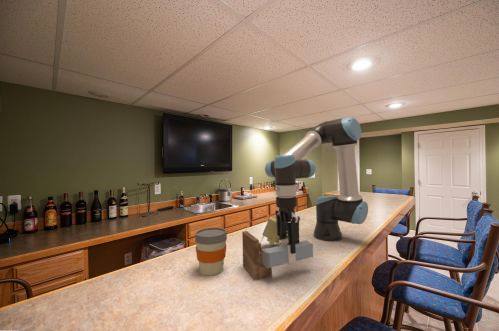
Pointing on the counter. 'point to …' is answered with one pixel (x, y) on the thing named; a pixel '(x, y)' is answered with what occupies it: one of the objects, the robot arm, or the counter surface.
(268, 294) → the counter surface
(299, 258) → the rail
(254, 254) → the wooden bracket with knobs
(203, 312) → the counter surface
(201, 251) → the reusable coffee cup
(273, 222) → the mechanical component
